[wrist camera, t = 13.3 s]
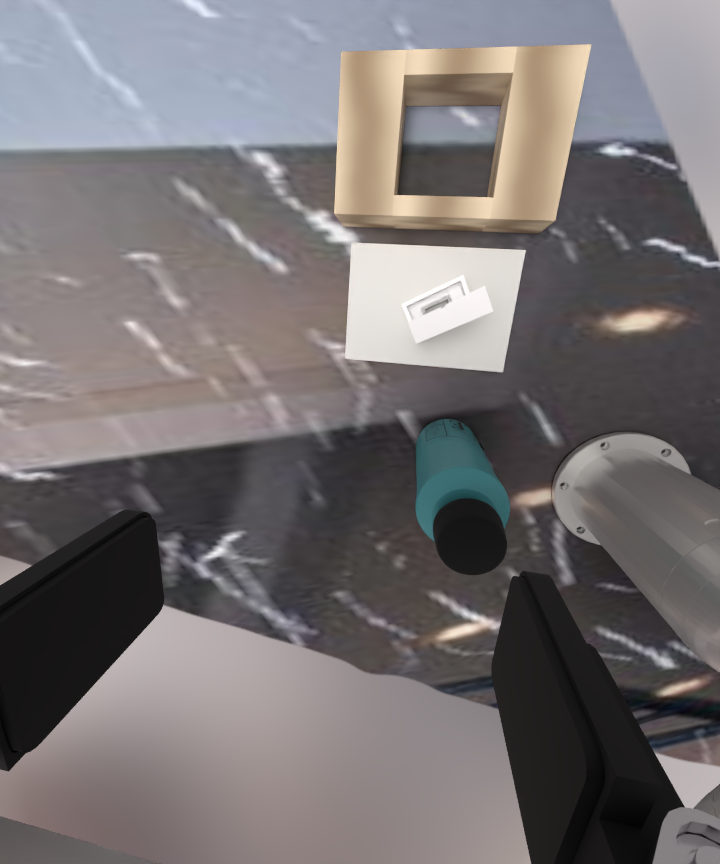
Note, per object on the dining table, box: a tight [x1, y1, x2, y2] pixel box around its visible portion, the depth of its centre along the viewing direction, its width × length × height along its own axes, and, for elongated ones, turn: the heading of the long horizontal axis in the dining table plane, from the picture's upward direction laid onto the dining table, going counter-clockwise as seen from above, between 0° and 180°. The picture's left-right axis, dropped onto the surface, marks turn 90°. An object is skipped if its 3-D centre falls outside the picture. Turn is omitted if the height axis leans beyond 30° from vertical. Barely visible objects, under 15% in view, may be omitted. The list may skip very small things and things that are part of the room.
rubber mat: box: [345, 243, 526, 372], centre depth 35 cm, size 16×11×1 cm
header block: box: [334, 45, 591, 234], centre depth 29 cm, size 18×11×4 cm, turn 86°
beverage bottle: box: [414, 418, 510, 575], centre depth 29 cm, size 6×7×20 cm
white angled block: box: [401, 275, 493, 344], centre depth 31 cm, size 4×10×9 cm, turn 115°
